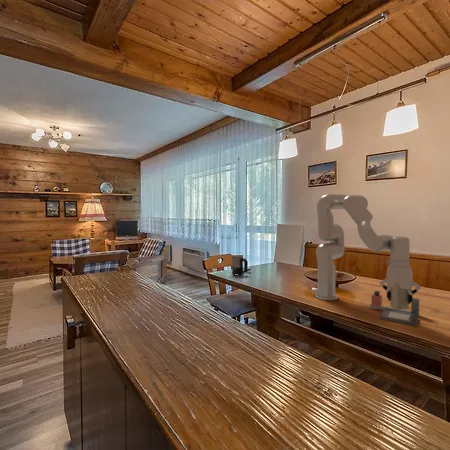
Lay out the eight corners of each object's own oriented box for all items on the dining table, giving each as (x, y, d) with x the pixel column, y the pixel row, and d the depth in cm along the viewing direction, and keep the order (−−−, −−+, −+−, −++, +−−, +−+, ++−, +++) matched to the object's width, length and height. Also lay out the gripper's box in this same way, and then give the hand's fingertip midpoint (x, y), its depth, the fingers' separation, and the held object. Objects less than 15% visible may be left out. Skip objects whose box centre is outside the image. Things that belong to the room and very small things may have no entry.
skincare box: (402, 306, 133) (403, 280, 132) (409, 309, 128) (409, 283, 128) (389, 306, 133) (389, 281, 132) (395, 310, 128) (395, 283, 128)
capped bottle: (371, 305, 145) (371, 291, 145) (373, 303, 148) (373, 289, 148) (380, 306, 142) (380, 293, 142) (381, 304, 146) (382, 291, 145)
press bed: (379, 318, 132) (379, 315, 131) (383, 312, 139) (383, 309, 139) (415, 326, 123) (415, 322, 123) (418, 318, 130) (418, 316, 130)
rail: (369, 307, 146) (369, 292, 146) (370, 306, 148) (371, 291, 148) (418, 317, 133) (419, 300, 132) (419, 315, 135) (419, 298, 135)
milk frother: (230, 275, 226) (230, 256, 225) (235, 271, 241) (235, 253, 240) (247, 276, 221) (247, 257, 221) (252, 272, 236) (251, 254, 236)
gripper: (376, 262, 132) (376, 300, 133) (421, 266, 121) (421, 307, 122) (380, 260, 138) (379, 296, 139) (423, 264, 127) (423, 302, 128)
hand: (399, 301), depth 130 cm, fingers closed on skincare box, 7 cm apart
